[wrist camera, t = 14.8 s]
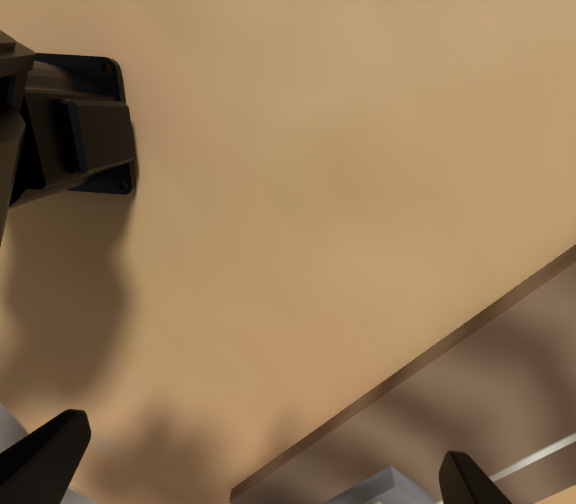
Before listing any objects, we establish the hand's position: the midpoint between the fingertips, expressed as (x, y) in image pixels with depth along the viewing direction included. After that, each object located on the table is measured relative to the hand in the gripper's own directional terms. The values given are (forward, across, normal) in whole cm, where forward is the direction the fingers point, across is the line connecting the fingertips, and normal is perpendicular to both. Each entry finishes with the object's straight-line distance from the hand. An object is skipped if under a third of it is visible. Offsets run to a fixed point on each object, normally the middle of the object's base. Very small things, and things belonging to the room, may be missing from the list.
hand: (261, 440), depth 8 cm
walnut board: (+12, -13, +14) cm, 23 cm away
